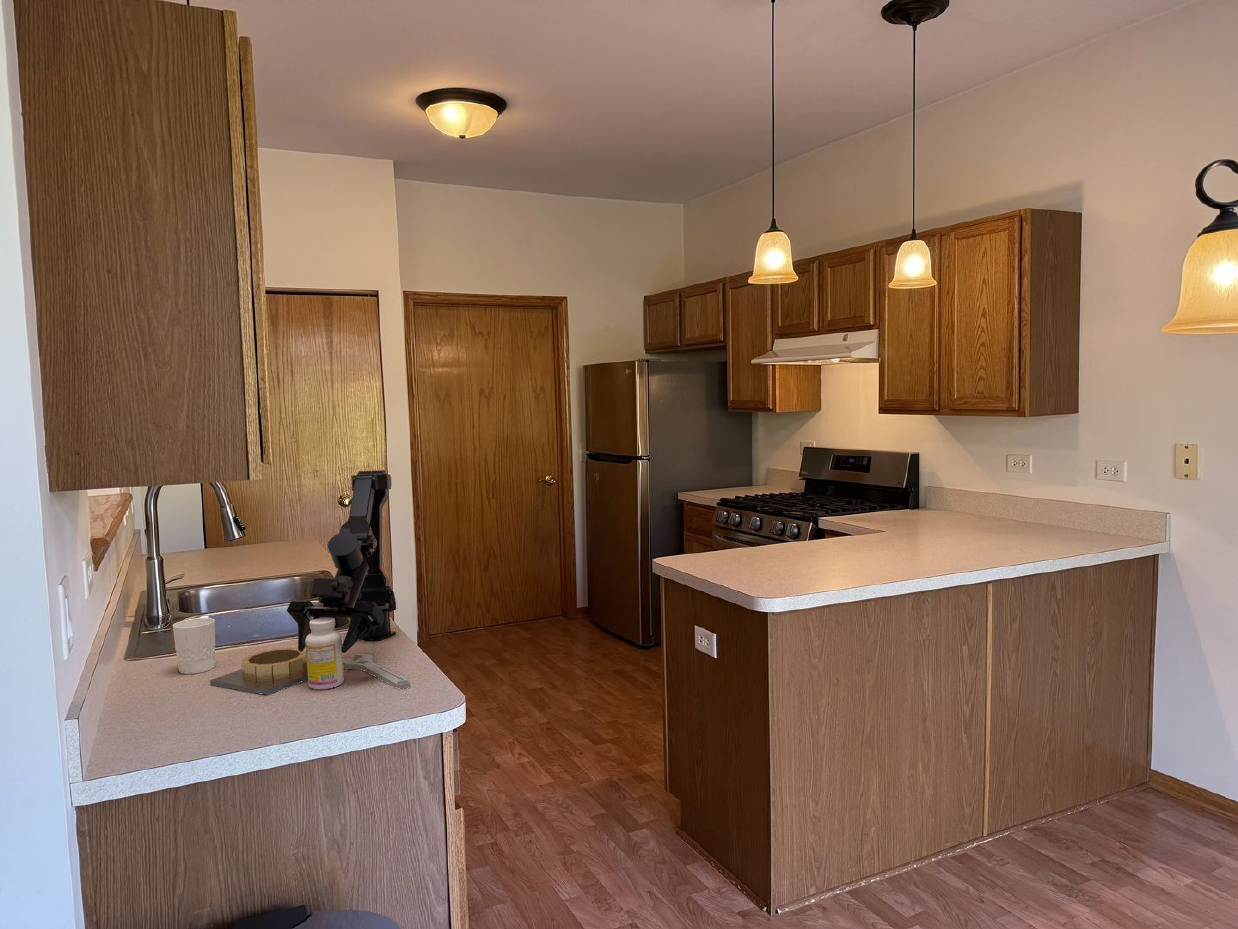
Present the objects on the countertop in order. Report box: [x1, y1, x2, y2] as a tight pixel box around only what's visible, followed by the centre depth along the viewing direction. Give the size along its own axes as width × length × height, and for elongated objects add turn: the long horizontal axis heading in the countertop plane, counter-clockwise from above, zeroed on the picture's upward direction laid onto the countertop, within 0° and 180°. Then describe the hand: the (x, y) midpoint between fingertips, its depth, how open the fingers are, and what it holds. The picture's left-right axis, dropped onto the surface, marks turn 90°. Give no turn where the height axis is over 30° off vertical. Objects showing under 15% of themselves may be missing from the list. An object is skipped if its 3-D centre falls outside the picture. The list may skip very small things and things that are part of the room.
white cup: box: [172, 617, 216, 675], centre depth 180 cm, size 8×8×10 cm
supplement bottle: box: [305, 617, 345, 690], centre depth 167 cm, size 7×7×13 cm
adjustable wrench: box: [343, 653, 411, 689], centre depth 172 cm, size 25×6×2 cm, turn 36°
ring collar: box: [209, 647, 308, 696], centre depth 173 cm, size 18×16×4 cm
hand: (321, 651), depth 166 cm, fingers open, 9 cm apart
